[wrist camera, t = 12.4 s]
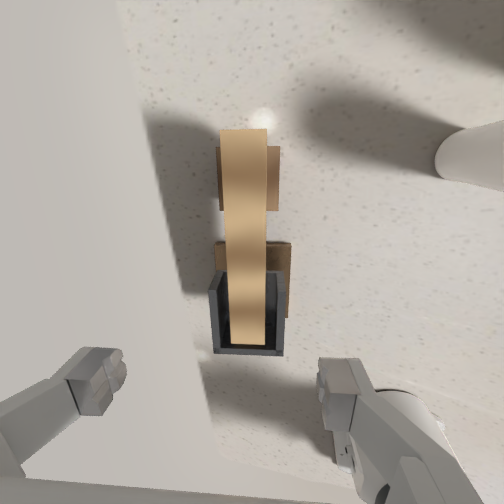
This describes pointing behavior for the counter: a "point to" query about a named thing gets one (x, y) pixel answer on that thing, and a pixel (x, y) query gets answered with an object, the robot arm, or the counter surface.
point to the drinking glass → (474, 156)
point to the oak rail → (245, 230)
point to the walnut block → (272, 178)
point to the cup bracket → (274, 303)
